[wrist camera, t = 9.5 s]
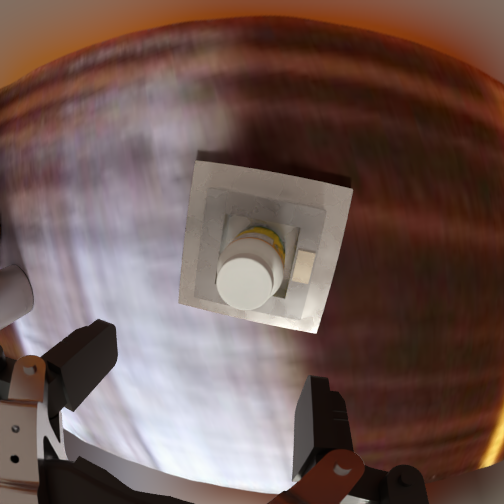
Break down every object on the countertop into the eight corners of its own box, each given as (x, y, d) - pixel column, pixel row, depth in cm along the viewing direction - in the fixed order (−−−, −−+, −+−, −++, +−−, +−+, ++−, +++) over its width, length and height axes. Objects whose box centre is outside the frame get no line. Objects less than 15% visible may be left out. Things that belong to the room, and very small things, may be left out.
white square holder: (181, 299, 33) (169, 313, 29) (198, 160, 29) (186, 158, 25) (315, 329, 31) (317, 346, 28) (351, 188, 27) (359, 189, 24)
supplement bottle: (240, 218, 28) (215, 237, 19) (292, 233, 28) (292, 258, 19) (228, 268, 30) (200, 306, 21) (277, 282, 30) (270, 327, 20)
